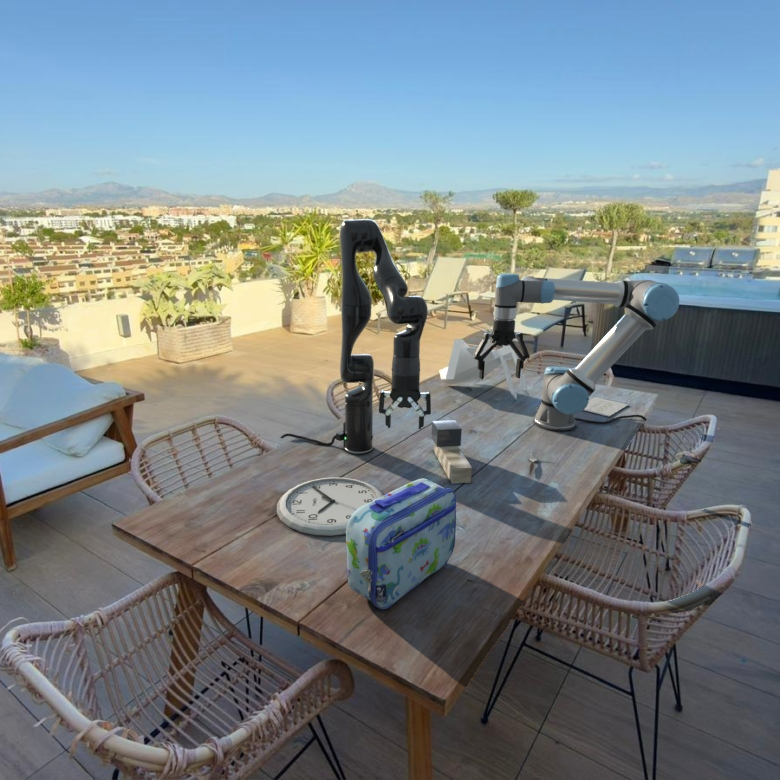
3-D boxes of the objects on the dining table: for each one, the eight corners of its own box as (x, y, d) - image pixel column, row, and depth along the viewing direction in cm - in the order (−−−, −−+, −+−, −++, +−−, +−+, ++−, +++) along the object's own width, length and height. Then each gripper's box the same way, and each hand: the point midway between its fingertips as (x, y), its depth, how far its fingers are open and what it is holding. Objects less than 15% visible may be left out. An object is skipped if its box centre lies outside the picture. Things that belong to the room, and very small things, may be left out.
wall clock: (392, 527, 129) (268, 531, 127) (391, 533, 130) (269, 537, 127) (383, 473, 158) (282, 475, 155) (383, 478, 158) (282, 480, 156)
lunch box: (375, 622, 100) (376, 527, 94) (339, 595, 108) (338, 505, 101) (459, 565, 118) (465, 481, 112) (424, 545, 125) (427, 465, 119)
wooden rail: (433, 451, 179) (434, 437, 177) (450, 450, 180) (451, 436, 178) (451, 483, 156) (452, 468, 155) (470, 482, 157) (472, 467, 155)
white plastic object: (461, 429, 252) (437, 405, 227) (444, 352, 274) (420, 323, 250) (535, 404, 240) (518, 377, 215) (510, 326, 262) (492, 293, 237)
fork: (525, 475, 162) (525, 469, 161) (530, 455, 176) (531, 449, 176) (534, 476, 161) (534, 470, 161) (538, 456, 175) (539, 450, 175)
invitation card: (608, 416, 214) (573, 407, 224) (608, 416, 214) (573, 408, 224) (628, 404, 229) (594, 396, 238) (628, 405, 229) (594, 397, 238)
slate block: (431, 437, 177) (432, 421, 175) (454, 436, 178) (455, 420, 176) (436, 447, 170) (437, 429, 168) (460, 446, 171) (461, 428, 169)
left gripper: (432, 368, 144) (429, 423, 149) (380, 367, 144) (379, 421, 149) (432, 375, 137) (430, 433, 141) (378, 374, 137) (377, 431, 142)
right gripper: (534, 317, 187) (528, 374, 193) (466, 317, 183) (463, 375, 190) (542, 320, 180) (536, 379, 186) (472, 321, 176) (469, 381, 183)
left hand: (404, 427), depth 145 cm, fingers open, 8 cm apart
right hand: (499, 377), depth 188 cm, fingers open, 13 cm apart
